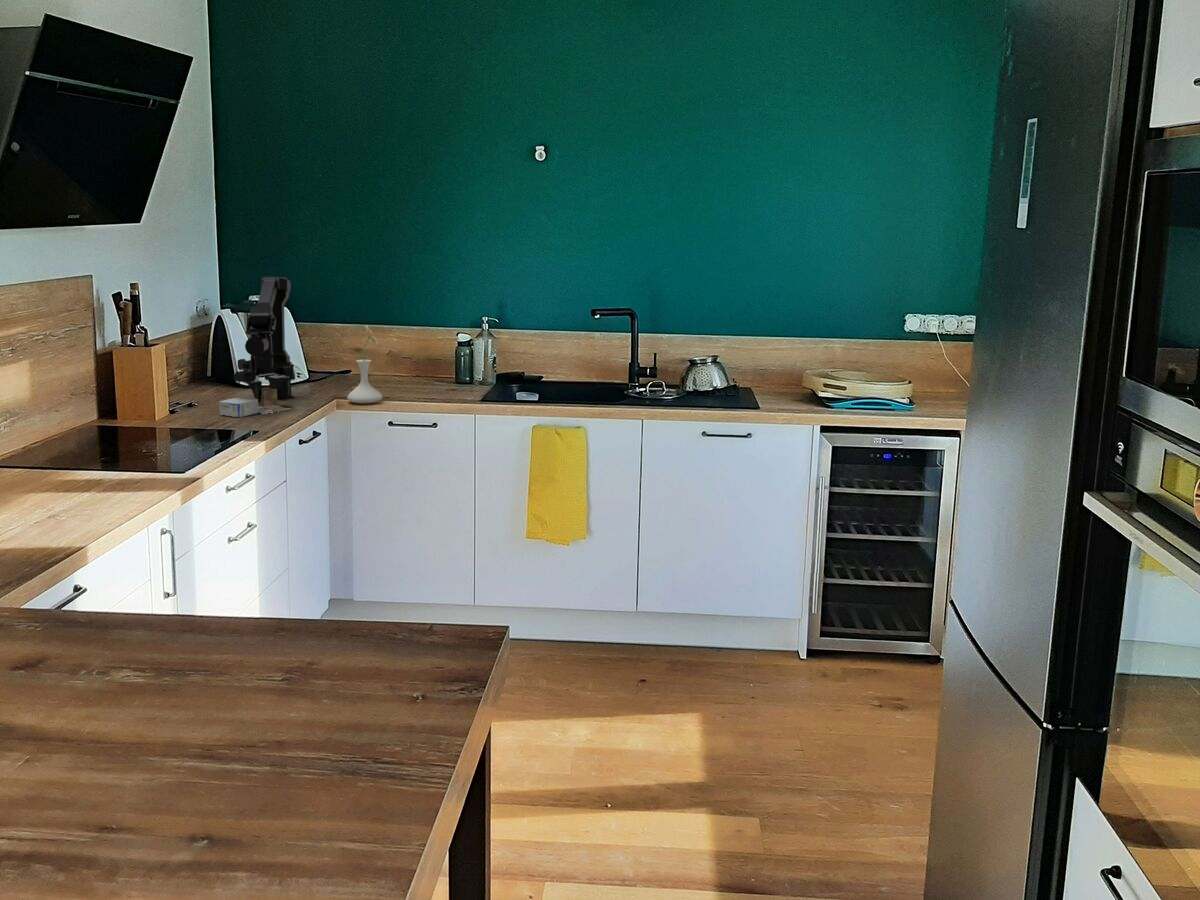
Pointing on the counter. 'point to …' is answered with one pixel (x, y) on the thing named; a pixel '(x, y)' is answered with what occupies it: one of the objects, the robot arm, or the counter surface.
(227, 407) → the medicine box
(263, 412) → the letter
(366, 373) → the flower in vase
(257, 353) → the robot arm
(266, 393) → the walnut block
